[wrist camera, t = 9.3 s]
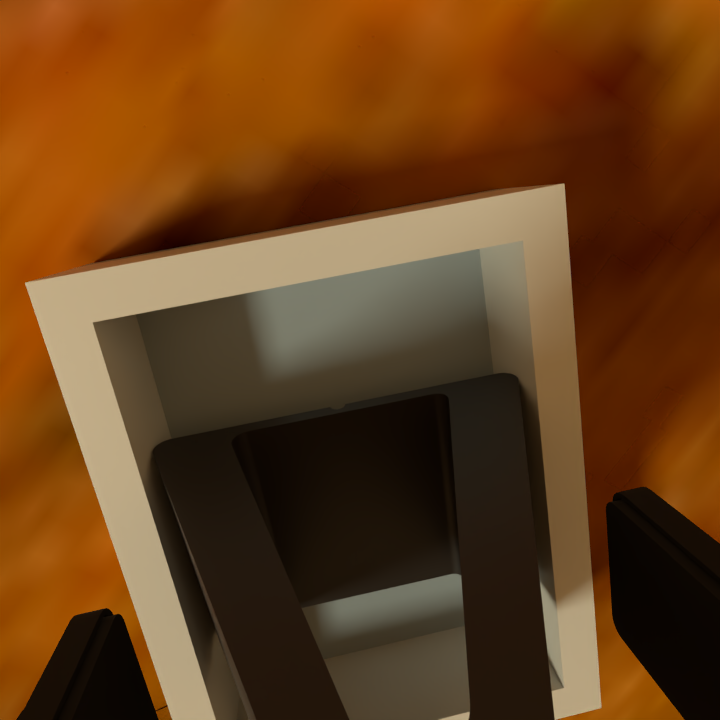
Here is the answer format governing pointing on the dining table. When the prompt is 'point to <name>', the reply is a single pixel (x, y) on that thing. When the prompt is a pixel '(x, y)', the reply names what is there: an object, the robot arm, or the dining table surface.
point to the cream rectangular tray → (332, 389)
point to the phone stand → (366, 537)
